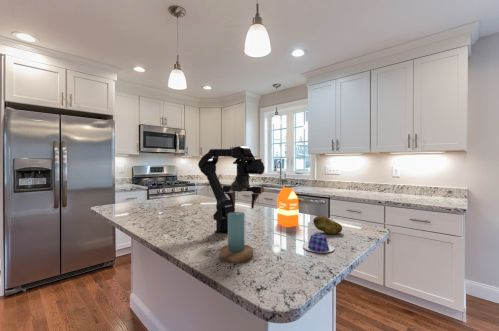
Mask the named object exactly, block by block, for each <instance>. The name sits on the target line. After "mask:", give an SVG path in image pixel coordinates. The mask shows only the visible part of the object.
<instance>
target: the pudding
mask: <svg viewBox="0 0 499 331" xmlns="http://www.w3.org/2000/svg"><path fill="white" fill-rule="evenodd" d="M302 246H303V247H302V248H303V249H304V250H307V251H310V252H313V253H320V254H322V253H331V252H333V251H335V247H334V246H333V245H331V244H329V243H328V240H327V236H326V235H324V234H321V233H315V234H314V233H313V234H311V235H310V238H309V241H308V242H306V243H304V244H303V245H302Z"/></svg>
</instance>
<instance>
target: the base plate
mask: <svg viewBox="0 0 499 331" xmlns="http://www.w3.org/2000/svg"><path fill="white" fill-rule="evenodd" d="M253 258H254V248H253V247H252V246H250V245H248V244H245V250H244V251H242V252H230V251H228V244H227V245H223V246H221V248H220V249H219V259H220V260H221V261H223V262H225V263H230V264H241V263H246V262H249V261H251V260H252V259H253Z"/></svg>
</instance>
